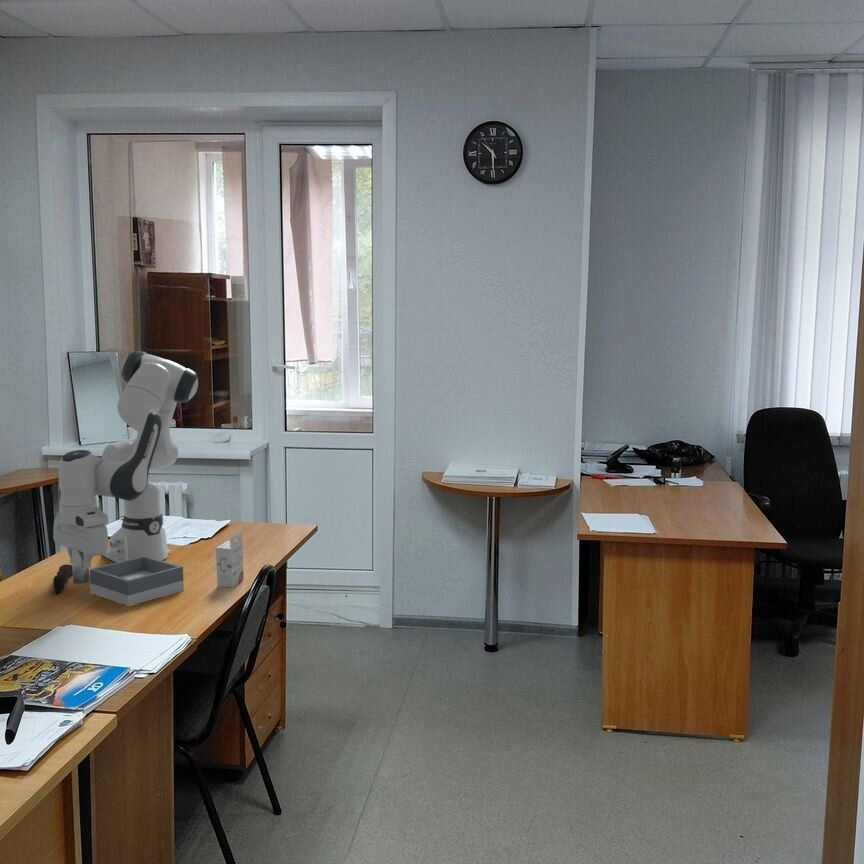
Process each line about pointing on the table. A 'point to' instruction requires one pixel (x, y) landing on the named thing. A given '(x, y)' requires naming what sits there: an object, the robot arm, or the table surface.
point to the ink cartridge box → (230, 562)
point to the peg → (79, 568)
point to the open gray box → (136, 580)
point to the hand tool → (62, 578)
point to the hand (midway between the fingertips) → (80, 565)
